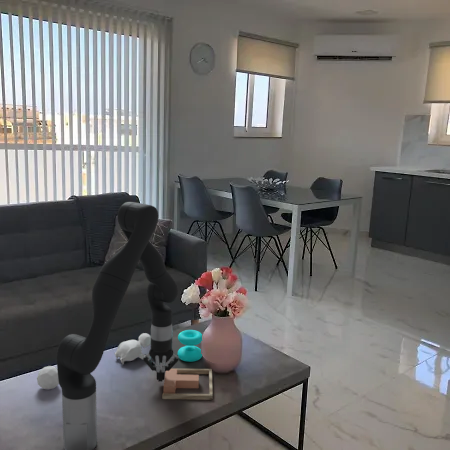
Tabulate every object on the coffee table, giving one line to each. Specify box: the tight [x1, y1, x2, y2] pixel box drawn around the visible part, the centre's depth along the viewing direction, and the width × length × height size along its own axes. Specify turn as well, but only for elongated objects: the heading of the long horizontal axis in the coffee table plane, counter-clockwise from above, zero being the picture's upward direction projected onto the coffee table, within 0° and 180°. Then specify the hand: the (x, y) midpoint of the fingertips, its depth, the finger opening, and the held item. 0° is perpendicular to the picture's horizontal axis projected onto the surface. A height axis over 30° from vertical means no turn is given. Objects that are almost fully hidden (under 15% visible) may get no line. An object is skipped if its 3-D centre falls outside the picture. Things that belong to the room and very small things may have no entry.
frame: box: [161, 367, 214, 401], centre depth 174 cm, size 18×17×2 cm
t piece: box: [162, 369, 200, 394], centre depth 174 cm, size 12×12×3 cm
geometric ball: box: [36, 365, 59, 391], centre depth 168 cm, size 8×8×8 cm
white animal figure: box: [114, 332, 151, 365], centre depth 192 cm, size 9×8×15 cm
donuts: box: [177, 329, 203, 363], centre depth 193 cm, size 10×10×10 cm
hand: (160, 380), depth 173 cm, fingers closed
